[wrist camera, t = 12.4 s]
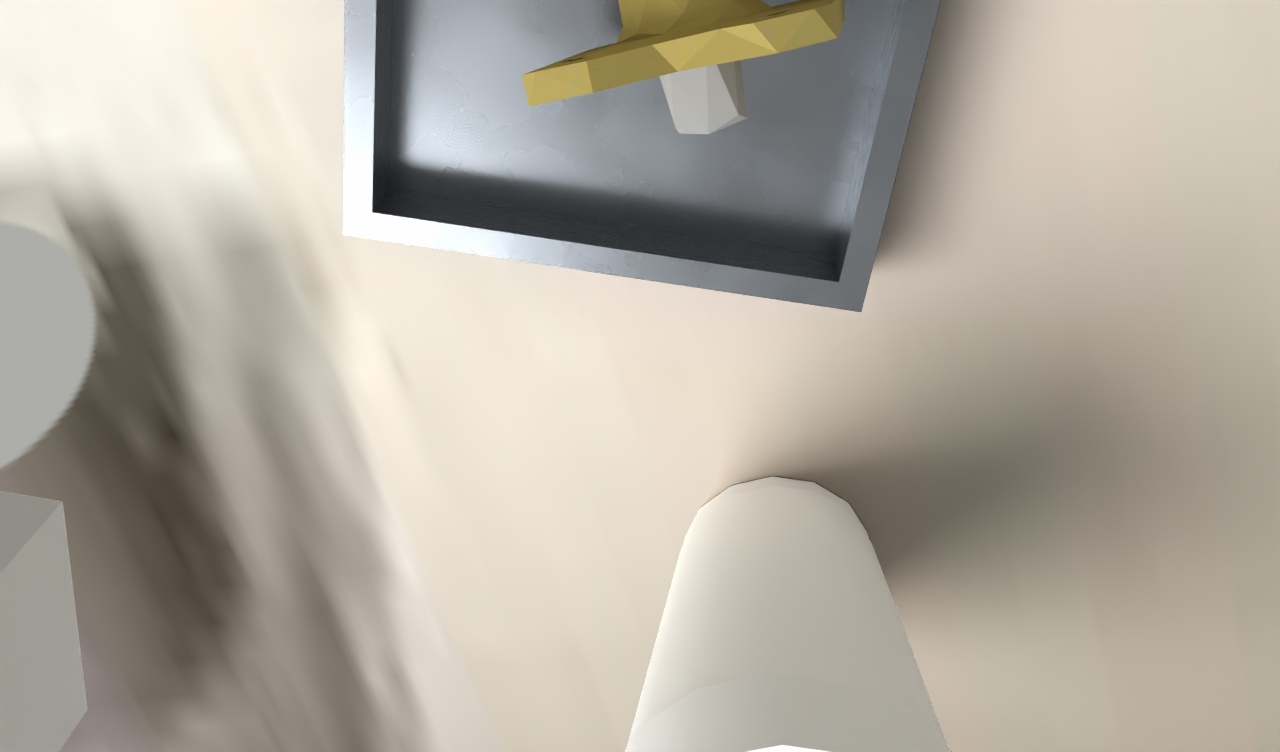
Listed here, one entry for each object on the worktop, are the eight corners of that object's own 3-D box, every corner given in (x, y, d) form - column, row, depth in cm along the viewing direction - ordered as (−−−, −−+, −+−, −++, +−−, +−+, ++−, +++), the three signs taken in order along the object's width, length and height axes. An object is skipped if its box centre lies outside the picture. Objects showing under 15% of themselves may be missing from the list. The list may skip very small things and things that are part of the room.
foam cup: (587, 506, 41) (531, 821, 30) (834, 392, 38) (875, 693, 27) (726, 688, 44) (722, 1030, 33) (959, 597, 42) (1042, 937, 30)
